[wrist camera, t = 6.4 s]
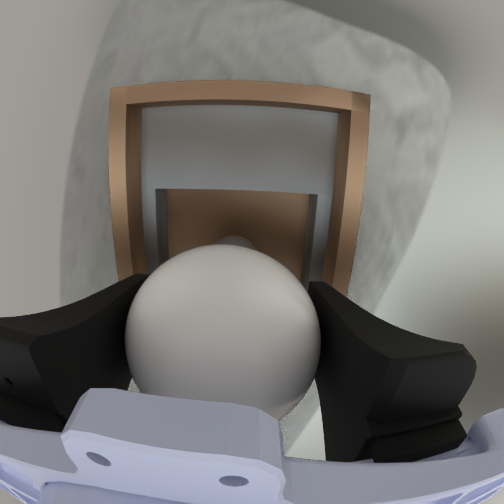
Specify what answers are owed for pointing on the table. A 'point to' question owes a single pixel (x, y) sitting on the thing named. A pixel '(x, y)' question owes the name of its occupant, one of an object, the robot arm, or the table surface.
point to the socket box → (238, 173)
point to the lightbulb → (224, 329)
